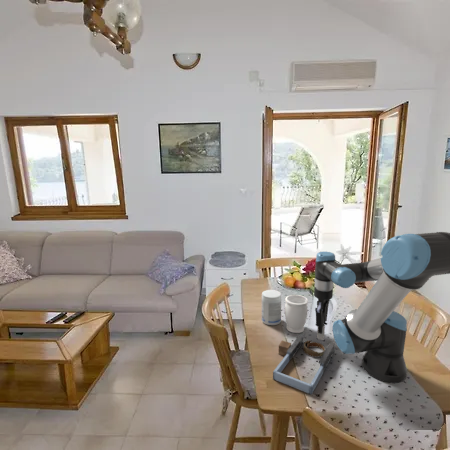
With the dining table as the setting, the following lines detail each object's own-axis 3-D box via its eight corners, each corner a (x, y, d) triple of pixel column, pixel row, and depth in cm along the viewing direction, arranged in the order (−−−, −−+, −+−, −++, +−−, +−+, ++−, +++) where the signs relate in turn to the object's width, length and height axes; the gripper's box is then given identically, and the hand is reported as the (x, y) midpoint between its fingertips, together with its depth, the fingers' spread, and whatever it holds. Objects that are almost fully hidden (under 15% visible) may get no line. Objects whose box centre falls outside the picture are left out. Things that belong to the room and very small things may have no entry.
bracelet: (299, 347, 136) (300, 340, 135) (318, 344, 138) (318, 338, 137) (309, 359, 128) (309, 352, 127) (328, 356, 129) (329, 350, 129)
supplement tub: (283, 319, 158) (284, 292, 155) (276, 328, 150) (277, 299, 147) (265, 314, 163) (266, 288, 160) (258, 322, 155) (258, 294, 152)
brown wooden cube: (290, 351, 132) (291, 343, 131) (287, 356, 129) (288, 348, 128) (281, 349, 134) (281, 340, 133) (278, 354, 131) (278, 345, 130)
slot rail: (300, 341, 140) (301, 332, 139) (334, 351, 132) (334, 342, 131) (286, 360, 127) (286, 351, 126) (322, 373, 119) (323, 363, 118)
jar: (307, 335, 144) (308, 305, 141) (283, 333, 146) (284, 303, 143) (306, 324, 154) (307, 295, 151) (284, 322, 156) (285, 293, 153)
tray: (286, 360, 126) (286, 353, 126) (322, 373, 119) (323, 366, 118) (272, 379, 116) (273, 371, 115) (311, 394, 108) (312, 386, 108)
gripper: (319, 281, 142) (316, 329, 146) (309, 291, 131) (307, 343, 136) (336, 284, 138) (333, 334, 142) (328, 295, 127) (324, 348, 132)
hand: (320, 338), depth 139 cm, fingers closed
